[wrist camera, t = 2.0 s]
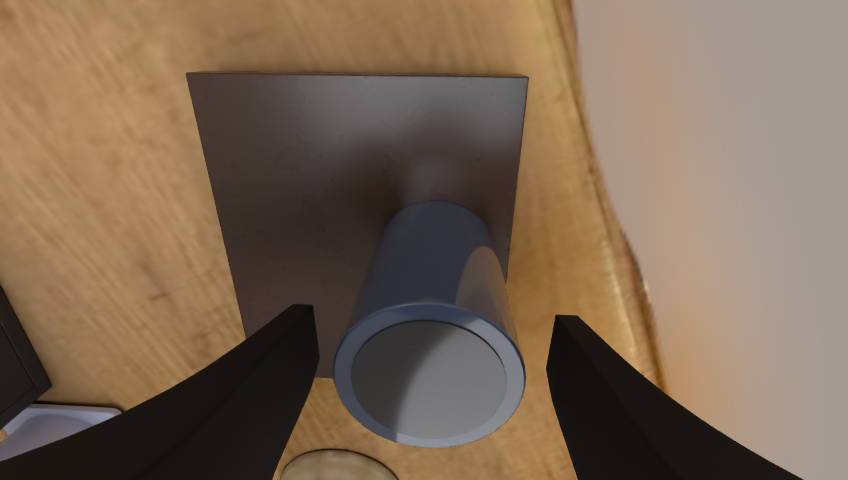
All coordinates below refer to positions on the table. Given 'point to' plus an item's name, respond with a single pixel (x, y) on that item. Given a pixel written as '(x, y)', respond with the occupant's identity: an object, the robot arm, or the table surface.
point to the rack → (17, 367)
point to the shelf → (346, 174)
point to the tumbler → (431, 333)
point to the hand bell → (335, 467)
